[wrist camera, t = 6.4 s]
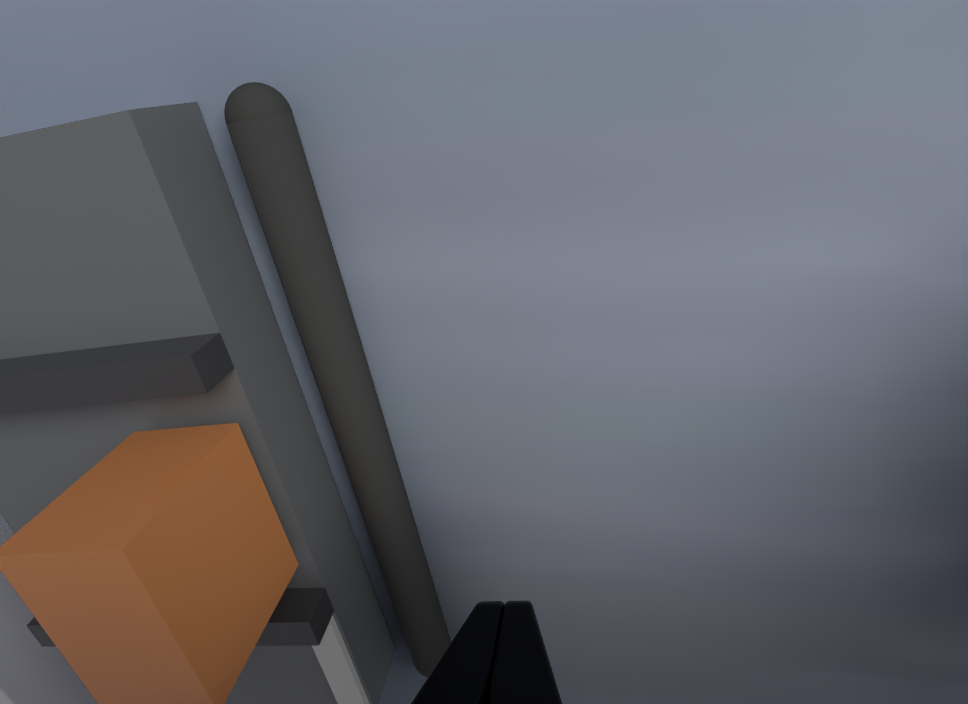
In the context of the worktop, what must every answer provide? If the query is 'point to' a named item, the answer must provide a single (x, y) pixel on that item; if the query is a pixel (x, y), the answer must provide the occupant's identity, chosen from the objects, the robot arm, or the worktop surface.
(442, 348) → the worktop surface
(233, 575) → the orange block
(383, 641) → the panel
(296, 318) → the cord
